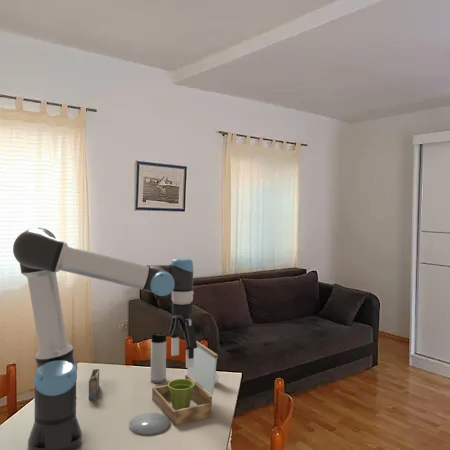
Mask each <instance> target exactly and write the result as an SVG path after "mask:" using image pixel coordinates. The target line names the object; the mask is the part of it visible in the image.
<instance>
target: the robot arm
mask: <svg viewBox="0 0 450 450" xmlns="http://www.w3.org/2000/svg"><path fill="white" fill-rule="evenodd" d="M12 252H13V256H14V258H15V260H16V262H18V263H19V266H20V267H19V268H20V273H21V274H22V275H23V276H25V277H26V278H27V284H28V289H29V294H30V301H31V307H32V308H31V309H32V312H33V313H32V314H33V319H34V326H35V332H36V338H37V341H38V348H39V349H38V351H37V352H36V354H35V362H36V368H37V369H36V370H35V373H34V377H33V378H34V380H33V385H34V422H33V426H32V429H31V430H30V434H29V437H28V440H27V450H77V449H78V447H80V445H81V444H82V442H83V432H82V429H81V426H80V423H79V419H78V417H77V380H78V379H77V378H78V363H77V360H76V358H75V353H74V347H73V345H71V343H69V342H68V340H67V335H66V327H65V322H64V321H65V320H64V314H63V309H62V302H61V296H60V290H59V283H58V278H57V273H58V272H60V271H62V272H67V273H69V274H75V275H78V276H83V277H87V278H92V279H96V280H101V281H104V282H109V283H113V284H117V285H121V286H124V287H125V286H126V287H129V288H130V287H131V288H135V289H137V290H142V291H146V292H149V293H152V294H155V295H156V296H159V297H165V296H166V297H167V296H168V295H170V294H171V302H172V303H171V321H170V326H169V330H168V334H169V335H170V338H171V343H170V344H171V345H170V346H171V347H170V351H171V353H170V354H171V357H175V356H180V332H182V335H183V338H184V340H185V341H184V342H185V345H186V347H185V368H186V369H188V368H190V367H194V349H195V348H197V342H196V341H197V338H196V332H195V326H194V319H193V318H190V316H189V315H192V314H193V312H194V303H193V300H194V295H195V292H194V273H195V272H194V264H193V263H194V262H193V260H192V259H191V258H188V257H187V258H185V257H182V258H180V257H178V258H173V259H172V260H171V264H159V265H158V264H157V265H156V264H155V265H150V264H149V265H147V264H146V265H143V264H140V263H139V264H138V263H136V262H135V263H134V262H132V261H127V260H123V259H119V258H117V257H112V256H109V255H104V254H101V253H96V252H93V251H89V250H85V249H82V248H78V247H73V246H70V245H69V244H68V243H67V241H65V240H60V239H57V238H56V236H55V235H54V233H53V232H51V231H50V230H48V229H47V228H44V227H32V228H29V229H27V230H25V231H24V232H21V233H20V234H19V235H18V236H17V237H16V239H14V242H13V246H12Z"/></svg>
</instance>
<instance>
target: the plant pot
mask: <svg viewBox="0 0 450 450" xmlns="http://www.w3.org/2000/svg"><path fill="white" fill-rule="evenodd" d="M167 385H168V387H169V390H170V394H171V397H170V401H171V406H172V407H173V408H174V410H179V409H184V408H188V407H191V400H192V399H191V393H192V389H193V387H194V382H193V381H191V380H188V379H185V378H176V379H173V380H170V381H169V382H168V383H167Z"/></svg>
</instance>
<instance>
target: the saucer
mask: <svg viewBox="0 0 450 450" xmlns="http://www.w3.org/2000/svg"><path fill="white" fill-rule="evenodd" d="M128 425H129V428H128V429H129V430H130V431H131V432H133V433H134V434H138V435H143V436H150V435H151V436H152V435H156V434H157V435H158V434H159V433H163V432H164V431H166V430H167V429H168V428H169V427H170V420H169V418H168V417H167V416H165V414H164V413H159V412H143V413H140V414H137V415H135V416H133V417H132V418H131V419H130V420H129V423H128Z"/></svg>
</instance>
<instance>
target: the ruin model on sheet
mask: <svg viewBox="0 0 450 450" xmlns="http://www.w3.org/2000/svg"><path fill="white" fill-rule="evenodd" d="M90 373H91V374H90V375H89V379H88V400H97V397H98V393H99V389H100V368H94V369H93V368H92V370H91V372H90Z"/></svg>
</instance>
